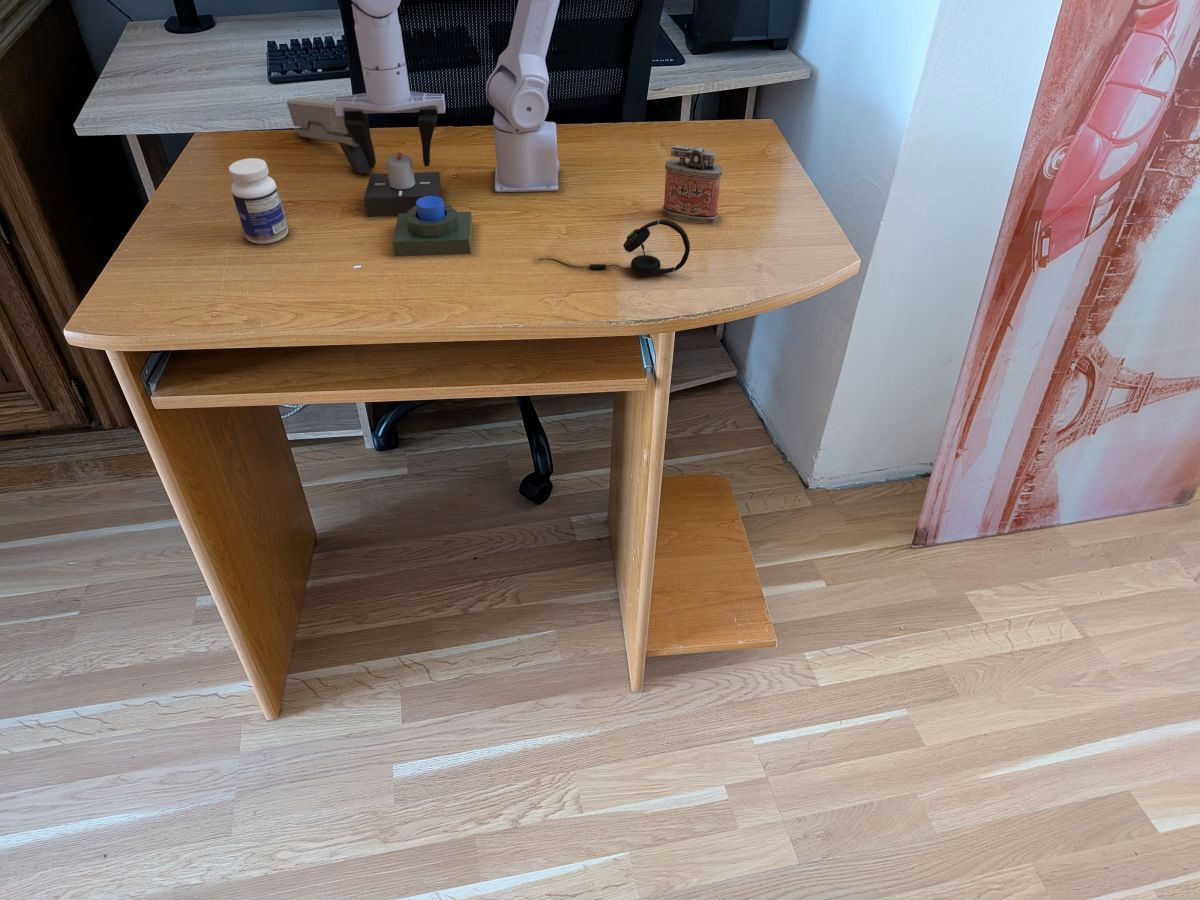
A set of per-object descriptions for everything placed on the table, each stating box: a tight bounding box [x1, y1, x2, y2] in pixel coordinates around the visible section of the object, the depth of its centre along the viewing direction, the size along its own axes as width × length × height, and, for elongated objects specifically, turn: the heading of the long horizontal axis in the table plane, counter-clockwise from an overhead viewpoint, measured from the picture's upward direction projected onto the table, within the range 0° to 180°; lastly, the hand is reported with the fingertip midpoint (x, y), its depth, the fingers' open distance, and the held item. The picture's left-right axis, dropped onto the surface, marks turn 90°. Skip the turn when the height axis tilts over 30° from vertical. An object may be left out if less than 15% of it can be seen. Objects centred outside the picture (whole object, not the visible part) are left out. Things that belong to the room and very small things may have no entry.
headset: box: [537, 219, 691, 276], centre depth 109 cm, size 7×7×20 cm
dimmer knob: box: [385, 152, 415, 189], centre depth 119 cm, size 4×4×4 cm
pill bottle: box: [228, 157, 289, 245], centre depth 111 cm, size 6×6×10 cm
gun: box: [286, 97, 373, 175], centre depth 132 cm, size 2×25×10 cm, turn 41°
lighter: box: [661, 144, 723, 225], centre depth 117 cm, size 8×3×10 cm, turn 71°
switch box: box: [392, 203, 474, 257], centre depth 112 cm, size 10×8×4 cm
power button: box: [416, 196, 445, 221], centre depth 111 cm, size 4×4×2 cm
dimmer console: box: [363, 171, 443, 218], centre depth 121 cm, size 10×8×3 cm
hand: (399, 164), depth 118 cm, fingers open, 7 cm apart
